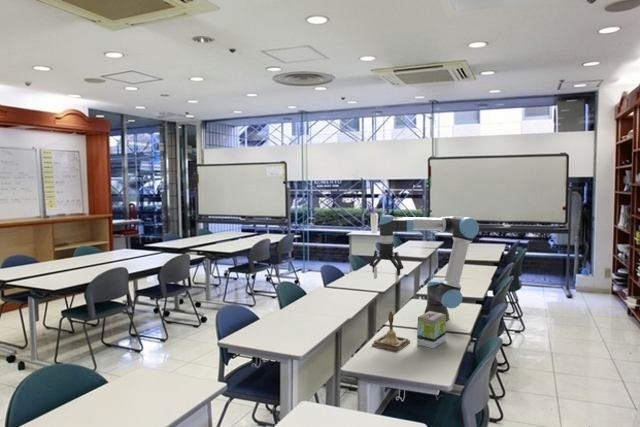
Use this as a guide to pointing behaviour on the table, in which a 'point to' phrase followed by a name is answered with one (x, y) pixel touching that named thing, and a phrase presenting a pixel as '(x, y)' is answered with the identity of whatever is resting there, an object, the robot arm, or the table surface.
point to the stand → (391, 347)
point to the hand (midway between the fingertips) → (386, 279)
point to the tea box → (431, 329)
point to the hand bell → (391, 332)
